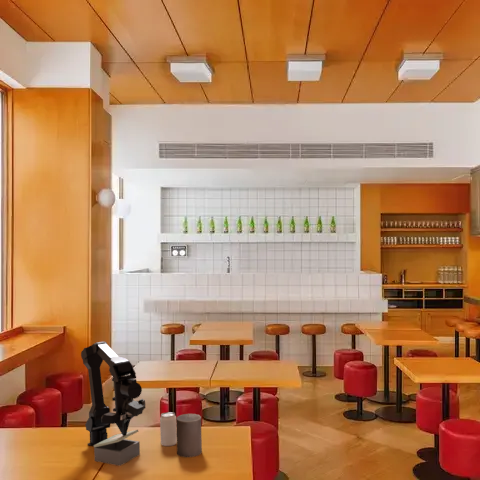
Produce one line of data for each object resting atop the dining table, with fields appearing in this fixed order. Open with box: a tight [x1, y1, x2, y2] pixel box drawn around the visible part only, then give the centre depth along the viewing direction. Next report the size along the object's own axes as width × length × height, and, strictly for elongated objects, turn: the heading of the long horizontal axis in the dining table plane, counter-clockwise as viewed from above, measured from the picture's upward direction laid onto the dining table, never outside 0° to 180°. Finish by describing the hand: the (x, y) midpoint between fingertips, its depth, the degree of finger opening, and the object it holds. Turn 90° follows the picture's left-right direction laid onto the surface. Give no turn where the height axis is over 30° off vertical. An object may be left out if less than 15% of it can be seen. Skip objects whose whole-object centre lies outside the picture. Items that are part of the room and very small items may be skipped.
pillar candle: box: [176, 413, 203, 458], centre depth 222 cm, size 10×10×15 cm
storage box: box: [93, 438, 141, 467], centre depth 219 cm, size 12×12×5 cm
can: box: [159, 411, 177, 447], centre depth 232 cm, size 6×6×12 cm
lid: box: [93, 429, 139, 448], centre depth 219 cm, size 12×12×1 cm
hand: (124, 435), depth 217 cm, fingers closed, pressing on lid
